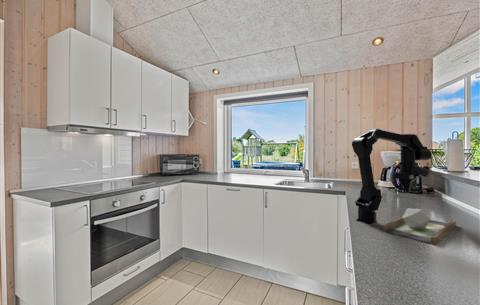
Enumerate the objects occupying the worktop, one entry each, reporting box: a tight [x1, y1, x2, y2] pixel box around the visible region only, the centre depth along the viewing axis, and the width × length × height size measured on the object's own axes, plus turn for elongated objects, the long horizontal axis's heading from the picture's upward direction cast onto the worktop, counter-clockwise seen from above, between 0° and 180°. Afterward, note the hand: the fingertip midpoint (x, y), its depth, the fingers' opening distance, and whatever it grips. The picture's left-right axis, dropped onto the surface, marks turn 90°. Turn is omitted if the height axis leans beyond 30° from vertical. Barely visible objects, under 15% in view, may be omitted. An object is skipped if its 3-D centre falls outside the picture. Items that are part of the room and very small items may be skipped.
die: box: [401, 207, 431, 230], centre depth 92 cm, size 8×9×10 cm
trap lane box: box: [383, 215, 457, 246], centre depth 92 cm, size 16×34×2 cm, turn 126°
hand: (407, 192), depth 105 cm, fingers closed
